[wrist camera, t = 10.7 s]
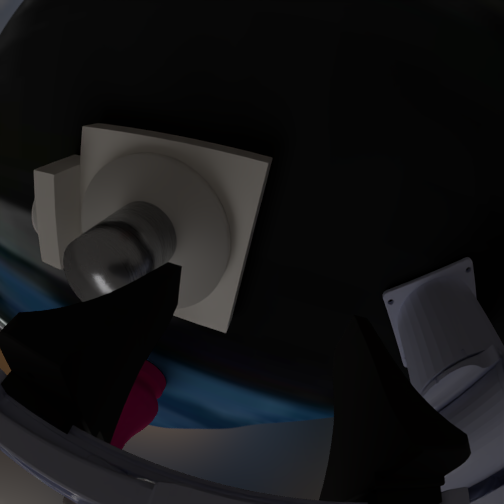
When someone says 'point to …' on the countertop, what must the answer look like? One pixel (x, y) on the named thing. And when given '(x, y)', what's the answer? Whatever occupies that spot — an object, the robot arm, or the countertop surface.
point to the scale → (161, 206)
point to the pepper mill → (138, 407)
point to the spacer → (119, 250)
